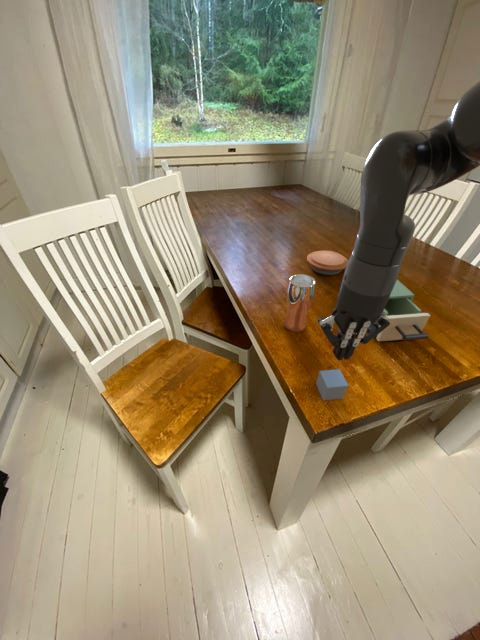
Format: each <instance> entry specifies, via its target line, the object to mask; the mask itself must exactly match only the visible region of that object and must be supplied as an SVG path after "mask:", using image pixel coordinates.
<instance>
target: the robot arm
mask: <svg viewBox="0 0 480 640" xmlns="http://www.w3.org/2000/svg"><path fill="white" fill-rule="evenodd" d="M479 167H480V80H478V81H477V82H476V83H475V84H474V85H472V86H471V87H470V88H469V89H467V90H466V91H465V92H464V93H463V94H462V95H461V96H460V98H459V99H458V100H457V102H456V104H455V105H454V107H453V109H452V112H451V115H449V116H448V117H447V118H446V119H445V120H443V121H441V122H440V123H438V124H436V125H434V126H433V127H430V128H428V129H417V130H415V129H414V130H413V129H412V130H397V131H393V132H390V133H388V134H386V135H385V136H383V137H382V138H381V139H379V140H378V141H377V142H376V144H375V145H374V146H373V147H372V149H371V150H370V152H369V154H368V155H367V158H366V159H365V162H364V165H363V168H362V170H361V171H362V172H361V178H360V197H359V198H360V199H359V200H360V201H359V204H360V205H359V223H360V224H359V229H358V232H357V235H356V237H355V238H356V239H355V241H354V245H353V248H352V252H351V254H350V257H349V259H348V264H347V267H345V270H344V273H343V276H342V280H343V281H341V284H340V287H341V288H339V291H338V295H337V300H336V306H335V308H333V310H332V311H331V312H332V313H331V315H330V316H328V317H327V318H324V317H318V319H317V323H318V326H319V327H320V329H321V331H322V332H323V334H324V335H325V337H326V338H327V340H328V341H329V343H330V344H331V346H332V347H333V349H332V353H333V355H334V357H335V359H336V360H337V361H343V359H344V360H345V361H347V360H350V359H351V358H352V356H353V355H354V353H355V350H356V347H358V346H359V345H360V344H363V345H367V344H369V343H370V342H371V341H372V340H373V339H375V338H376V337H377V335H378V334H379V333H380V332H382V331H383V330H384V329H385V328H387V327H388V326H389V325H390V322H389V321H388V320H387V318H386V317H385V316H384V315H383V314H381V313H382V312H383V311H384V309H385V306H386V304H387V302H388V299H389V297H390V295H391V292H392V290H393V288H394V285H395V283H396V281H397V280H398V278H399V275H400V272H401V268H402V264H403V261H404V259H405V257H406V254H407V252H408V249H409V247H410V245H411V242H412V239H413V237H414V235H415V231H416V223H415V221H414V219H412V217H410V216H409V215H407V214H405V212H406V206H407V201H408V198H409V197H410V196H417V195H422V194H426V193H429V192H431V191H432V192H433V191H435V190H437V189H440V188H441V187H444V186H446V185H448V184H450V183H452V182H454V181H456V180H458V179H460V178H462V177H463V176H465V175H467V174H468V173H470V172H472V171H474V170H476V169H477V168H479ZM334 324H336V334H334V332H333V331H334ZM368 332H369V333H368ZM367 333H368V334H367Z"/></svg>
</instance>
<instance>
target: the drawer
mask: <svg viewBox="0 0 480 640" xmlns="http://www.w3.org/2000/svg"><path fill="white" fill-rule="evenodd" d="M381 314H383V315H384V316H385V317H386V318H387V320H388V321H389V322H390V325H389V326H388V327H387V328H385V329H384V330H383V331H382V332H380V333H379V334H378V335H377V336H376V337H375V339H376V340H377V342H388V341H399V340H401V341H406V342H407V341H418V340H419V341H421V340H428V339H429V337H430V336H429V333H427V332H424V331H423V330H424V328H425V326H426V325H427V323H428V321H429V319H430V317H431V314H430V313H429V312H422V310H421V308H420V307H418V306H417V305H416V304H415V303H414V302H413V300H412V301H411V300H410V299H409V298H396V299H388V302H387V304H386V306H385V309H384V311H383V312H382V313H381Z"/></svg>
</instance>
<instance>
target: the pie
mask: <svg viewBox="0 0 480 640" xmlns="http://www.w3.org/2000/svg"><path fill="white" fill-rule="evenodd" d="M306 261H307V262H308V264H309V266H310V268H311V270H313V271H314V272H315V273H317V274H319V275H324V276H333V275H337V274H339V273H341V272H342V271H343V270H344V269H346V267H347V264H348V261H349V259H348V258H347V257H345V256H344V255H343V254H340V253H339V252H336V251H331V250H317V251H313V252H310V253H309V254H308V255H307V257H306Z"/></svg>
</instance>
